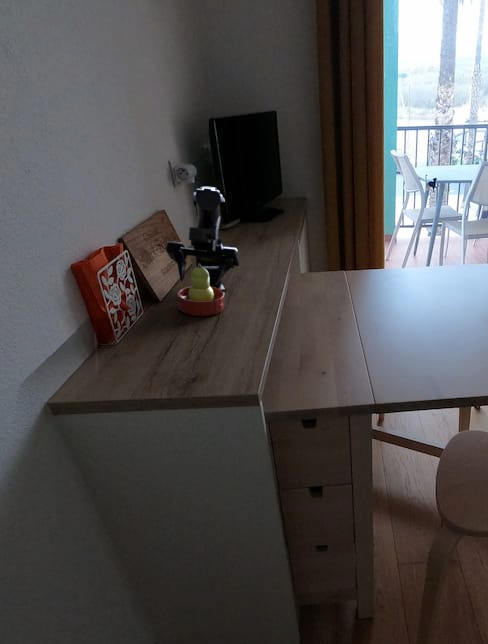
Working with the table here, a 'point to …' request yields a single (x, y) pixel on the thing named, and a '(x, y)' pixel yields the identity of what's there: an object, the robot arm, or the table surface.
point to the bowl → (201, 303)
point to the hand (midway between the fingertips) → (199, 282)
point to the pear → (200, 285)
